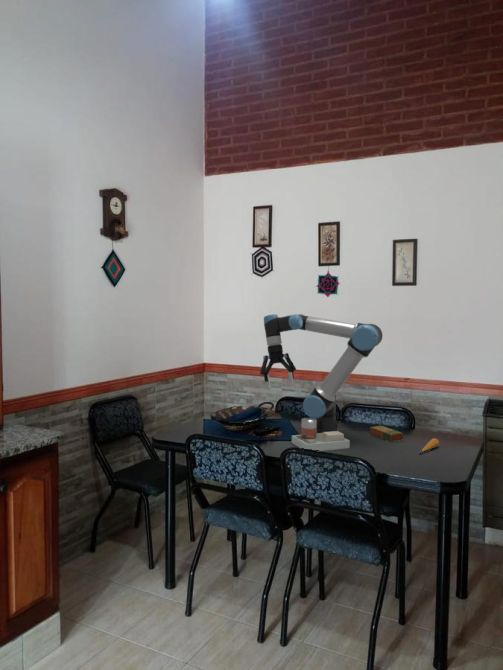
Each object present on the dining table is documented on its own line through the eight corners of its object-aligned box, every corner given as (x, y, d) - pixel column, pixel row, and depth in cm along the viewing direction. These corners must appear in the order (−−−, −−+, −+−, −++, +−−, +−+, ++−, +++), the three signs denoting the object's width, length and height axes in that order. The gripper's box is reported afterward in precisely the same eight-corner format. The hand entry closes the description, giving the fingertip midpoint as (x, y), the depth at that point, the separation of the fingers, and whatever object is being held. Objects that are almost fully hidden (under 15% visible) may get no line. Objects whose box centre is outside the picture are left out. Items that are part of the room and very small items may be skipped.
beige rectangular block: (337, 443, 262) (338, 431, 262) (343, 446, 257) (343, 434, 256) (322, 444, 260) (322, 432, 259) (327, 448, 254) (328, 435, 254)
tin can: (311, 441, 264) (311, 417, 263) (319, 445, 257) (319, 420, 256) (298, 443, 261) (298, 418, 260) (305, 447, 255) (305, 422, 253)
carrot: (433, 447, 266) (430, 438, 266) (442, 445, 263) (438, 436, 263) (415, 460, 251) (412, 450, 251) (424, 458, 248) (420, 449, 248)
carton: (381, 433, 288) (381, 425, 288) (403, 441, 274) (403, 432, 274) (369, 434, 284) (369, 426, 284) (390, 442, 270) (390, 434, 270)
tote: (332, 441, 270) (332, 432, 270) (349, 450, 255) (349, 440, 255) (291, 444, 262) (291, 435, 262) (306, 454, 247) (307, 444, 247)
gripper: (291, 344, 290) (296, 384, 288) (249, 348, 278) (255, 390, 276) (298, 342, 283) (304, 383, 281) (256, 346, 271) (262, 389, 269)
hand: (280, 386), depth 279 cm, fingers open, 13 cm apart
